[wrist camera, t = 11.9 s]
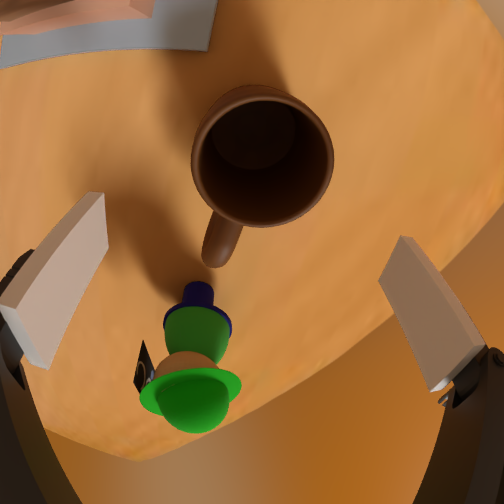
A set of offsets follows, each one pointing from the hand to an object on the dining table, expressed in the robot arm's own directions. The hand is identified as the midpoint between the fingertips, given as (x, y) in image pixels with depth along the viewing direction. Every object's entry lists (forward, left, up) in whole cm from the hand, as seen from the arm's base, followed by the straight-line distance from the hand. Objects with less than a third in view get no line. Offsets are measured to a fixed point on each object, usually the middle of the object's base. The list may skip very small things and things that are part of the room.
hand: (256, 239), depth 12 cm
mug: (0, 0, -13) cm, 13 cm away
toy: (-2, -17, -13) cm, 22 cm away
